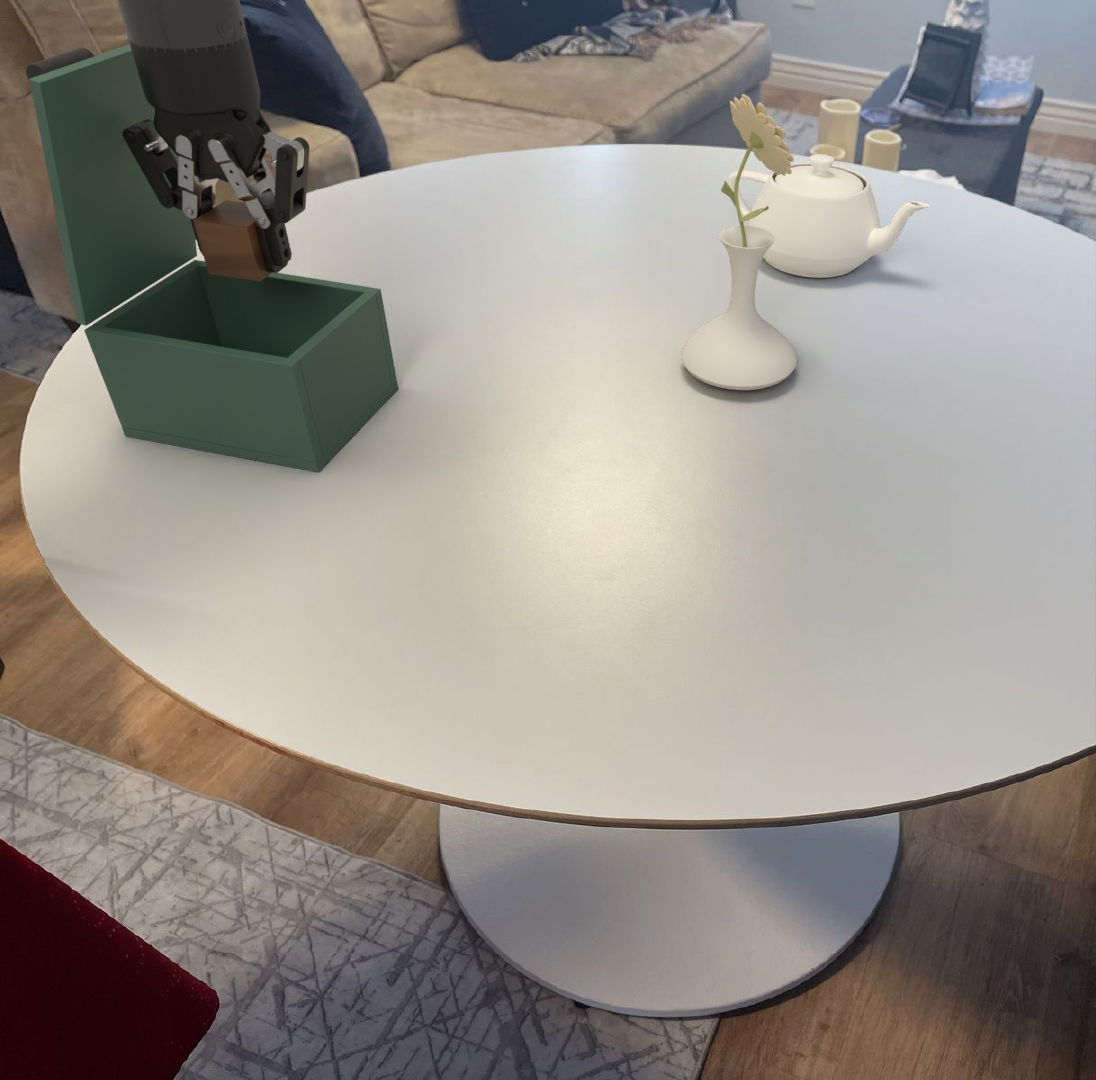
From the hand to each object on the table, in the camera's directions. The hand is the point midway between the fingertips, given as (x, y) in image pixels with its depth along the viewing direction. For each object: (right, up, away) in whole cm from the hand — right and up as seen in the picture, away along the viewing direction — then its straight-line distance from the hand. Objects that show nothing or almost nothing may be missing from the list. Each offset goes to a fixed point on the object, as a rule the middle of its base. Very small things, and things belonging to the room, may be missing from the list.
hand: (248, 263), depth 80 cm
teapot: (+49, +11, +40) cm, 64 cm away
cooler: (-3, -11, +9) cm, 14 cm away
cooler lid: (-8, +6, -2) cm, 10 cm away
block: (0, 0, 0) cm, 0 cm away
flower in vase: (+39, -5, +20) cm, 44 cm away
